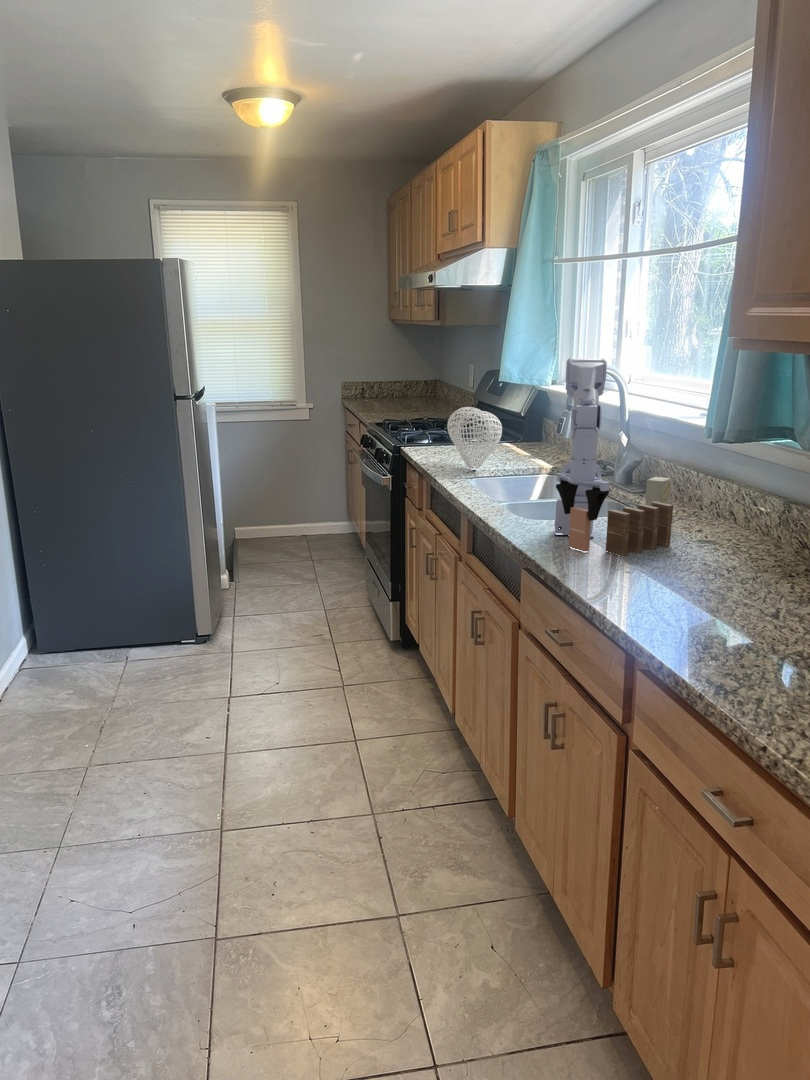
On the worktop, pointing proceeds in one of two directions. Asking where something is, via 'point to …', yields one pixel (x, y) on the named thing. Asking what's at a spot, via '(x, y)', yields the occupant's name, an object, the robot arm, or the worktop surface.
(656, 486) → the skincare box
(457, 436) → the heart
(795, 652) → the worktop surface
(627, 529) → the walnut tile
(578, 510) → the terracotta tile
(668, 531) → the walnut tile
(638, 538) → the walnut tile
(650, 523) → the walnut tile
